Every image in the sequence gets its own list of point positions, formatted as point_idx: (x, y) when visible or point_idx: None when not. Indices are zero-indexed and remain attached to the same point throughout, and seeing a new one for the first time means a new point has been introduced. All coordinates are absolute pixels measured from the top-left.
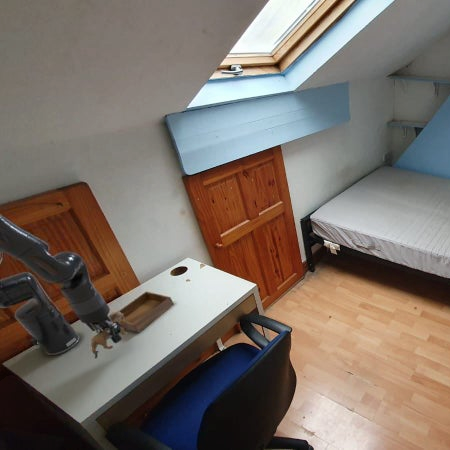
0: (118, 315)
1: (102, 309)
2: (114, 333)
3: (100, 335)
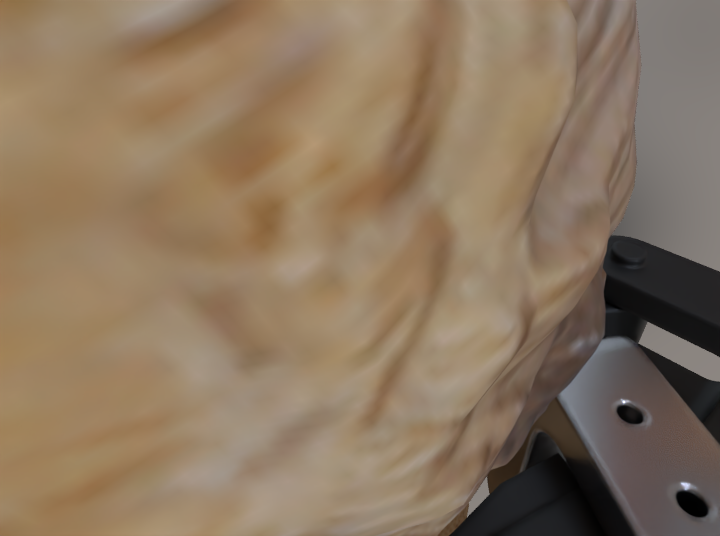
0: (631, 152)
1: None
2: (691, 381)
3: (460, 522)
